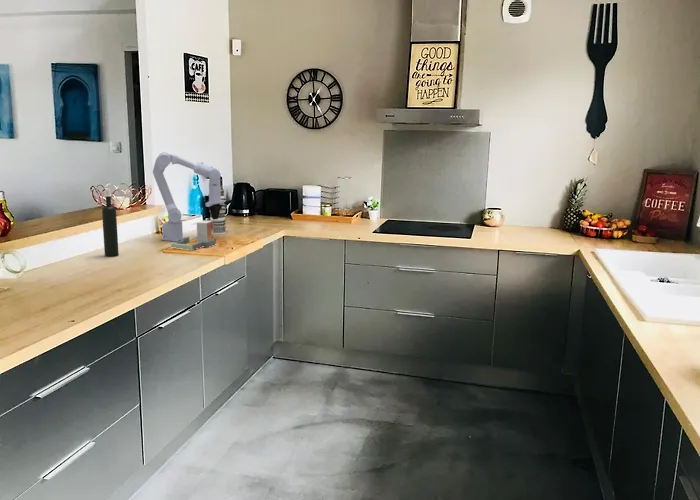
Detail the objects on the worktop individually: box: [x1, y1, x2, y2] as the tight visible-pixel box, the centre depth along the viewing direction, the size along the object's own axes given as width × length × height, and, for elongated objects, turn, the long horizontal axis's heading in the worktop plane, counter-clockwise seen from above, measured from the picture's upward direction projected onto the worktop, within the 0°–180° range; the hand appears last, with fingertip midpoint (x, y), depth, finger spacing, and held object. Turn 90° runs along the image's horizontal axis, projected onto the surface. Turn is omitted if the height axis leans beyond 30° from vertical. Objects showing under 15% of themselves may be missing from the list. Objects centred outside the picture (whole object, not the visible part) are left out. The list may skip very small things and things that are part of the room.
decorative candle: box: [209, 186, 227, 235], centre depth 320 cm, size 9×9×25 cm
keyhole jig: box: [170, 236, 217, 251], centre depth 287 cm, size 16×17×2 cm
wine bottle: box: [101, 187, 120, 258], centre depth 261 cm, size 6×6×30 cm
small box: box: [196, 219, 215, 243], centre depth 297 cm, size 8×6×10 cm
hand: (215, 218), depth 305 cm, fingers closed
